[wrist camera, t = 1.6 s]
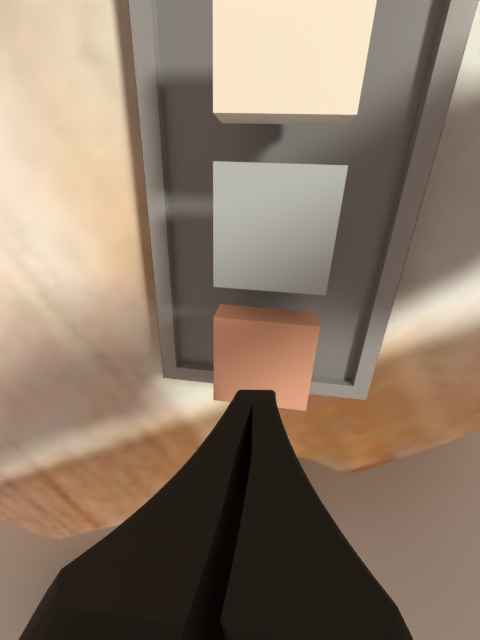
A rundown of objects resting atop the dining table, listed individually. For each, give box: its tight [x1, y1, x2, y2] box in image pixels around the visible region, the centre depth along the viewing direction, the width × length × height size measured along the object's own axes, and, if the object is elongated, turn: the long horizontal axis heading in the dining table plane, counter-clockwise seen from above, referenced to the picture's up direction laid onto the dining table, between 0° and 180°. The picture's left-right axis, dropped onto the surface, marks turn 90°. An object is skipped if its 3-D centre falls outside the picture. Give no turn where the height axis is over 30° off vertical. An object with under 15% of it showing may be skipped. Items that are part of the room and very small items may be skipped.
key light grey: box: [213, 161, 348, 295], centre depth 12 cm, size 5×5×4 cm
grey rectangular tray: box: [128, 0, 479, 400], centre depth 16 cm, size 14×22×2 cm, turn 178°
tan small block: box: [214, 304, 320, 411], centre depth 15 cm, size 5×5×4 cm
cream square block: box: [213, 0, 377, 125], centre depth 10 cm, size 5×5×4 cm
